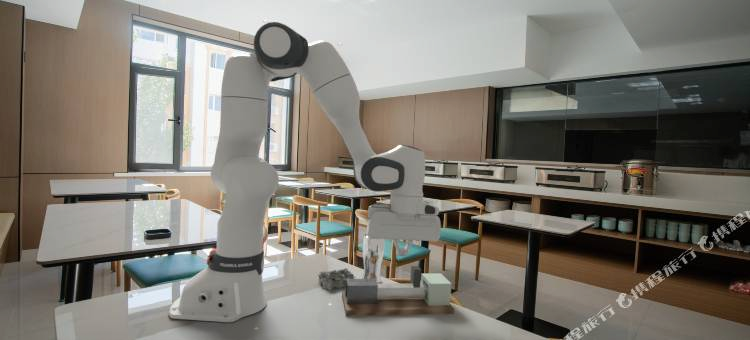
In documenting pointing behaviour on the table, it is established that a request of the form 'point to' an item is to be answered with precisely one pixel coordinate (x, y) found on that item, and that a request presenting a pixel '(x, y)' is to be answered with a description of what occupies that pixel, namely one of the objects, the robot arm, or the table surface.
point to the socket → (437, 289)
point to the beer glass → (372, 257)
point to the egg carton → (334, 278)
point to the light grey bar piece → (405, 287)
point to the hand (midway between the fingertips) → (401, 255)
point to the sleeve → (361, 291)
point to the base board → (396, 307)
